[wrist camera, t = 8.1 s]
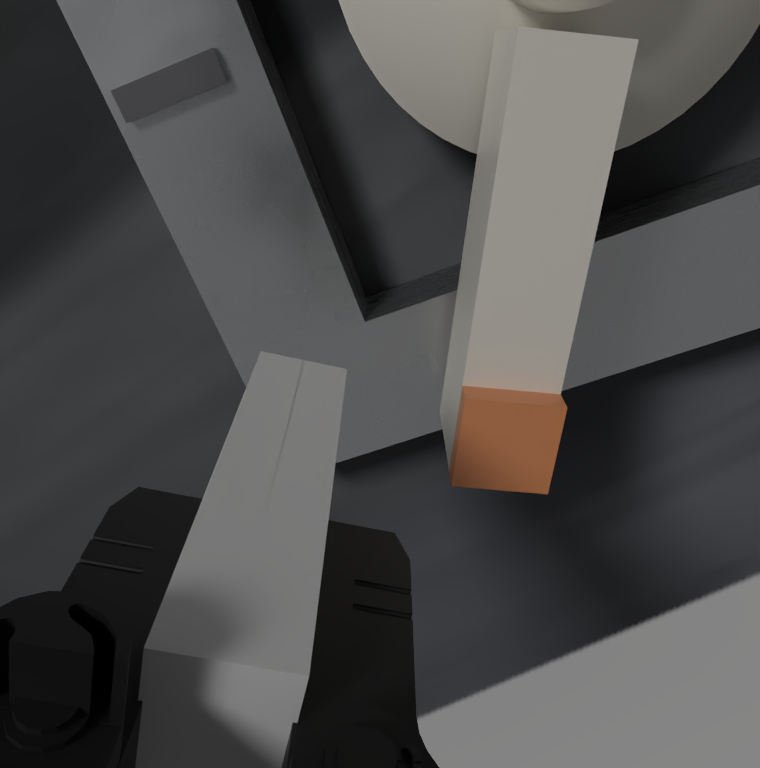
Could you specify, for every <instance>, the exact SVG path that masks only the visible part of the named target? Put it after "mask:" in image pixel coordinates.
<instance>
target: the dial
mask: <svg viewBox="0 0 760 768" xmlns="http://www.w3.org/2000/svg"><path fill="white" fill-rule="evenodd" d="M339 3H340V6H341V8H342V11H343V14H344V17H345V20H346V22H347V25H348V28H349V31H350V33H351V35H352V37H353V39H354V41H355V43H356V45H357V47H358V49H359V51H360V53H361V55H362V57H363V58H364V60H365V61H366V63H367V64H368V66H369V67H370V69H371V70H372V72H373V73H374V75H375V76H376V78H377V79H378V81H379V82H380V84H381V85H382V86H383V87H384V88H385V89H386V91H387V92H388V93H389V94H390V95H391V96H392V97H393V99H394V100H395V101H396V102H397V103H398V104H399V105H400V106H401V107H402V108H403V109H404V110H405V111H406V112H407V113H409V114H410V115H411V116H412V117H413V118H414V119H415V120H417V121H418V122H419V123H420V124H421V125H423V126H424V127H426V128H427V129H429V130H430V131H432V132H433V133H435V134H436V135H438V136H439V137H441V138H442V139H444V140H446V141H448V142H450V143H452V144H454V145H456V146H458V147H461V148H463V149H465V150H467V151H469V152H472V153H475V154H477V159H476V166H475V172H474V179H473V186H472V193H471V200H470V207H469V214H468V221H467V228H466V235H465V241H464V248H463V255H462V262H461V269H460V276H459V283H458V290H457V297H456V304H455V311H454V317H453V324H452V331H451V338H450V345H449V352H448V359H447V366H446V373H445V380H444V386H443V393H442V400H441V407H440V415H441V422H442V428H443V435H444V441H445V448H446V455H447V461H448V468H449V474H450V481H451V486H455V487H467V488H479V489H490V490H502V491H514V492H526V493H538V494H548V492H549V487H550V483H551V478H552V474H553V470H554V465H555V461H556V456H557V452H558V447H559V443H560V439H561V434H562V430H563V425H564V421H565V416H566V412H567V406H566V404H565V402H564V400H563V398H562V396H561V391H562V386H563V382H564V377H565V373H566V368H567V363H568V359H569V354H570V350H571V345H572V341H573V336H574V332H575V327H576V322H577V318H578V313H579V309H580V304H581V300H582V295H583V291H584V286H585V282H586V277H587V272H588V268H589V263H590V259H591V254H592V250H593V245H594V241H595V236H596V231H597V227H598V222H599V218H600V213H601V209H602V204H603V200H604V195H605V190H606V186H607V181H608V177H609V172H610V168H611V163H612V159H613V154H614V151H617V150H619V149H622V148H625V147H627V146H630V145H632V144H634V143H636V142H638V141H640V140H642V139H643V138H645V137H647V136H649V135H651V134H653V133H655V132H657V131H658V130H660V129H661V128H663V127H664V126H666V125H667V124H669V123H670V122H671V121H673V120H674V119H676V118H677V117H679V116H680V115H682V114H683V113H684V112H685V111H686V110H688V109H689V108H690V107H691V106H692V105H693V104H695V103H696V102H697V101H698V100H699V99H700V98H702V97H703V96H704V95H705V94H706V93H707V92H708V91H709V90H710V89H711V88H712V87H713V86H714V85H715V83H716V82H717V81H718V80H719V79H720V78H721V77H722V76H723V75H724V74H725V73H726V72H727V71H728V70H729V68H730V67H731V66H732V64H733V63H734V62H735V60H736V59H737V58H738V56H739V55H740V54H741V52H742V51H743V50H744V48H745V47H746V46H747V44H748V43H749V41H750V40H751V38H752V36H753V35H754V33H755V31H756V30H757V28H758V26H759V25H760V0H339Z"/></svg>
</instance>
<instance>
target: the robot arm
mask: <svg viewBox="0 0 760 768" xmlns="http://www.w3.org/2000/svg"><path fill="white" fill-rule="evenodd" d="M346 373H347V369H344V368H340V367H335V366H330V365H325V364H320V363H316V362H311V361H306V360H301V359H296V358H292V357H287V356H282V355H277V354H272V353H268V352H263V351H261V352H260V354H259V357H258V359H257V362H256V364H255V367H254V369H253V372H252V374H251V377H250V380H249V382H248V385H247V387H246V390H245V392H244V395H243V397H242V400H241V402H240V405H239V407H238V410H237V413H236V415H235V418H234V420H233V423H232V425H231V428H230V430H229V433H228V435H227V438H226V441H225V443H224V446H223V448H222V451H221V453H220V456H219V458H218V461H217V463H216V466H215V468H214V471H213V474H212V476H211V479H210V481H209V484H208V486H207V489H206V491H205V494H204V496H203V499H200V498H194V497H189V496H184V495H178V494H173V493H168V492H163V491H157V490H152V489H147V488H141V487H138V488H136V489H135V490H133V491H132V492H131V493H129V494H128V495H126V496H125V497H123V498H122V499H121V500H119V501H118V502H116V503H115V504H113V505H112V506H110V507H109V509H108V511H107V513H106V514H105V516H104V518H103V519H102V521H101V523H100V525H99V526H98V528H97V530H96V532H95V533H94V537H93V540H90V542H89V544H88V545H87V547H86V549H85V551H84V552H83V554H82V556H81V559H80V562H79V563H77V564H76V566H75V568H74V570H73V571H72V573H71V575H70V576H69V578H68V580H67V582H66V583H65V585H64V587H63V589H62V590H61V591H47V592H43V593H38V594H34V595H29V596H25V597H20V598H17V599H15V600H13V601H11V602H9V603H7V604H5V605H3V606H1V607H0V768H439V767H438V765H437V764H436V763H435V761H434V760H433V759H432V757H431V756H430V754H429V753H428V751H427V749H426V747H425V745H424V743H423V740H422V738H421V736H420V734H419V729H418V723H417V717H416V699H415V673H414V647H413V621H412V620H411V617H412V595H410V594H411V569H410V559H409V557H408V556H407V554H406V552H405V550H404V549H403V547H402V545H401V543H400V541H399V540H398V538H397V536H396V534H395V533H393V532H387V531H382V530H377V529H371V528H366V527H361V526H356V525H350V524H345V523H340V522H334V521H329V511H330V503H331V495H332V487H333V479H334V471H335V463H336V455H337V447H338V438H339V430H340V422H341V414H342V406H343V398H344V390H345V382H346Z"/></svg>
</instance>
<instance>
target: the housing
mask: <svg viewBox="0 0 760 768" xmlns="http://www.w3.org/2000/svg"><path fill="white" fill-rule="evenodd" d="M57 2H58V4H59V6H60V8H61V10H62V12H63V15H64V17H65V19H66V21H67V23H68V25H69V27H70V29H71V31H72V33H73V35H74V37H75V39H76V41H77V43H78V45H79V47H80V49H81V51H82V53H83V55H84V57H85V59H86V61H87V64H88V66H89V68H90V70H91V72H92V74H93V76H94V78H95V80H96V82H97V84H98V86H99V88H100V90H101V92H102V94H103V96H104V98H105V100H106V102H107V104H108V106H109V108H110V110H111V113H112V115H113V117H114V119H115V121H116V123H117V125H118V127H119V129H120V131H121V133H122V135H123V137H124V139H125V141H126V143H127V145H128V147H129V149H130V151H131V153H132V155H133V157H134V159H135V161H136V164H137V166H138V168H139V170H140V172H141V174H142V176H143V178H144V180H145V182H146V184H147V186H148V188H149V190H150V192H151V194H152V196H153V198H154V200H155V202H156V204H157V206H158V208H159V210H160V213H161V215H162V217H163V219H164V221H165V223H166V225H167V227H168V229H169V231H170V233H171V235H172V237H173V239H174V241H175V243H176V245H177V247H178V249H179V251H180V253H181V255H182V257H183V259H184V262H185V264H186V266H187V268H188V270H189V272H190V274H191V276H192V278H193V280H194V282H195V284H196V286H197V288H198V290H199V292H200V294H201V296H202V298H203V300H204V302H205V304H206V306H207V308H208V311H209V313H210V315H211V317H212V319H213V321H214V323H215V325H216V327H217V329H218V331H219V333H220V335H221V337H222V339H223V341H224V343H225V345H226V347H227V349H228V351H229V353H230V355H231V357H232V359H233V362H234V364H235V366H236V368H237V370H238V372H239V374H240V376H241V378H242V380H243V382H244V384H245V386H246V387H247V385H248V382H249V380H250V377H251V374H252V372H253V369H254V367H255V364H256V362H257V359H258V357H259V354H260V352H261V351H263V352H268V353H272V354H277V355H282V356H287V357H292V358H296V359H301V360H306V361H311V362H316V363H320V364H325V365H330V366H335V367H340V368H344V369H347V373H346V382H345V390H344V398H343V406H342V414H341V422H340V430H339V438H338V447H337V455H336V463H338V462H341V461H344V460H347V459H350V458H353V457H357V456H360V455H363V454H366V453H369V452H372V451H375V450H379V449H382V448H385V447H388V446H391V445H394V444H397V443H400V442H404V441H407V440H410V439H413V438H416V437H419V436H422V435H426V434H429V433H432V432H435V431H438V430H441V429H443V428H442V422H441V415H440V407H441V400H442V393H443V386H444V380H445V373H446V366H447V359H448V352H449V345H450V338H451V331H452V324H453V317H454V311H455V304H456V297H457V290H458V283H459V276H460V269H461V264H459V265H457V266H454V267H451V268H448V269H445V270H442V271H440V272H437V273H434V274H431V275H428V276H425V277H423V278H420V279H417V280H414V281H411V282H408V283H406V284H403V285H400V286H397V287H394V288H391V289H389V290H386V291H383V292H380V293H377V294H374V295H372V296H369V297H366V294H365V292H364V289H363V286H362V284H361V281H360V279H359V276H358V274H357V271H356V269H355V266H354V264H353V261H352V258H351V256H350V253H349V251H348V248H347V246H346V243H345V241H344V238H343V235H342V233H341V230H340V228H339V225H338V223H337V220H336V218H335V215H334V213H333V210H332V207H331V205H330V202H329V200H328V197H327V195H326V192H325V190H324V187H323V185H322V182H321V179H320V177H319V174H318V172H317V169H316V167H315V164H314V162H313V159H312V156H311V154H310V151H309V149H308V146H307V144H306V141H305V139H304V136H303V134H302V131H301V128H300V126H299V123H298V121H297V118H296V116H295V113H294V111H293V108H292V106H291V103H290V100H289V98H288V95H287V93H286V90H285V88H284V85H283V83H282V80H281V77H280V75H279V72H278V70H277V67H276V65H275V62H274V60H273V57H272V55H271V52H270V49H269V47H268V44H267V42H266V39H265V37H264V34H263V32H262V29H261V26H260V24H259V21H258V19H257V16H256V14H255V11H254V9H253V6H252V4H251V1H250V0H57ZM758 328H760V159H757V160H754V161H751V162H748V163H745V164H743V165H740V166H737V167H734V168H731V169H728V170H726V171H723V172H720V173H717V174H714V175H711V176H709V177H706V178H703V179H700V180H697V181H694V182H692V183H689V184H686V185H683V186H680V187H677V188H675V189H672V190H669V191H666V192H663V193H660V194H658V195H655V196H652V197H649V198H646V199H643V200H641V201H638V202H635V203H632V204H629V205H626V206H624V207H621V208H618V209H615V210H612V211H609V212H607V213H604V214H601V215H600V218H599V222H598V227H597V231H596V236H595V241H594V245H593V250H592V254H591V259H590V263H589V268H588V272H587V277H586V282H585V286H584V291H583V295H582V300H581V304H580V309H579V313H578V318H577V322H576V327H575V332H574V336H573V341H572V345H571V350H570V354H569V359H568V363H567V368H566V373H565V377H564V382H563V386H562V391H564V390H567V389H570V388H573V387H576V386H579V385H582V384H585V383H589V382H592V381H595V380H598V379H601V378H604V377H607V376H611V375H614V374H617V373H620V372H623V371H626V370H629V369H632V368H636V367H639V366H642V365H645V364H648V363H651V362H654V361H658V360H661V359H664V358H667V357H670V356H673V355H676V354H680V353H683V352H686V351H689V350H692V349H695V348H698V347H701V346H705V345H708V344H711V343H714V342H717V341H720V340H723V339H727V338H730V337H733V336H736V335H739V334H742V333H745V332H748V331H752V330H755V329H758Z"/></svg>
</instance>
